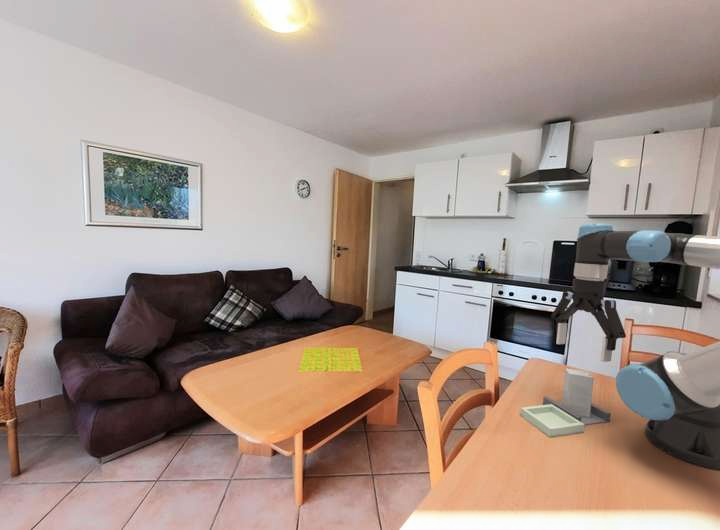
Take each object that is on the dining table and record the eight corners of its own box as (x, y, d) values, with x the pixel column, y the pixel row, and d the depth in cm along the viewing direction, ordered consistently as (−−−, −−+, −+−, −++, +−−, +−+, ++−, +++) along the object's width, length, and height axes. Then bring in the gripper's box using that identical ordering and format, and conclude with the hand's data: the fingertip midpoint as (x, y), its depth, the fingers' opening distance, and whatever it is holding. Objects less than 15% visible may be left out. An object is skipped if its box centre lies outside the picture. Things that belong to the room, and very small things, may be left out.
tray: (583, 432, 81) (584, 424, 81) (549, 437, 78) (550, 429, 78) (551, 411, 90) (551, 404, 90) (520, 415, 88) (520, 407, 87)
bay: (609, 421, 86) (610, 413, 86) (576, 426, 83) (577, 417, 83) (573, 401, 97) (574, 393, 97) (542, 404, 94) (543, 396, 94)
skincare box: (584, 410, 91) (589, 371, 90) (589, 418, 87) (594, 377, 86) (560, 405, 93) (565, 367, 92) (565, 413, 89) (569, 373, 88)
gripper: (650, 285, 76) (639, 369, 78) (561, 273, 100) (554, 337, 102) (628, 285, 74) (617, 371, 76) (542, 273, 98) (536, 338, 100)
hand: (581, 351), depth 89 cm, fingers open, 13 cm apart
